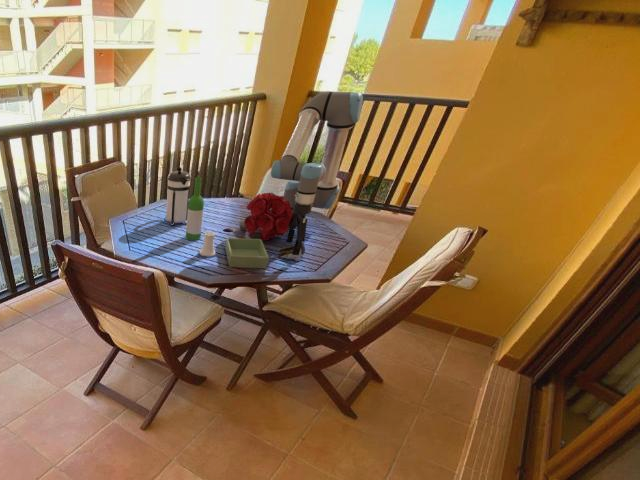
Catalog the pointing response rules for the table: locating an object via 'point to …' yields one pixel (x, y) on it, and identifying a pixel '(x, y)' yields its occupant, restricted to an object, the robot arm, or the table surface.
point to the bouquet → (268, 216)
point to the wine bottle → (195, 213)
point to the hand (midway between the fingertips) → (292, 248)
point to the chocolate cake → (288, 250)
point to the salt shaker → (208, 245)
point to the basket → (246, 253)
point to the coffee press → (177, 196)
